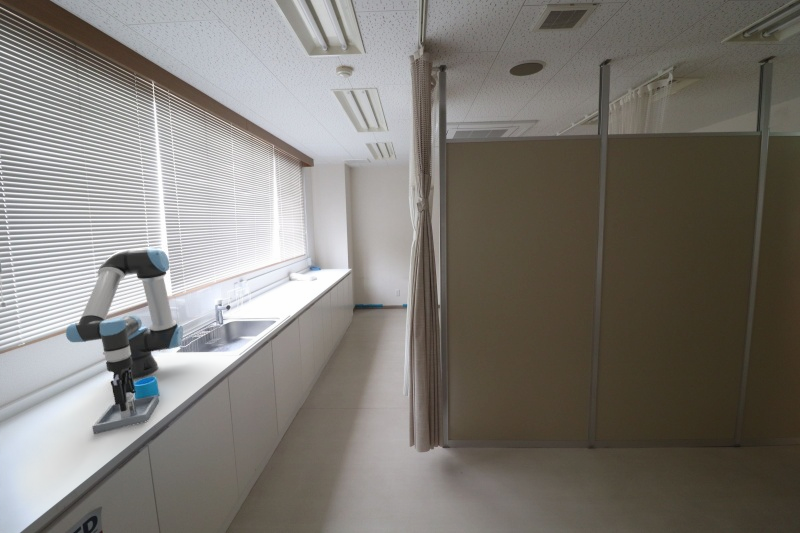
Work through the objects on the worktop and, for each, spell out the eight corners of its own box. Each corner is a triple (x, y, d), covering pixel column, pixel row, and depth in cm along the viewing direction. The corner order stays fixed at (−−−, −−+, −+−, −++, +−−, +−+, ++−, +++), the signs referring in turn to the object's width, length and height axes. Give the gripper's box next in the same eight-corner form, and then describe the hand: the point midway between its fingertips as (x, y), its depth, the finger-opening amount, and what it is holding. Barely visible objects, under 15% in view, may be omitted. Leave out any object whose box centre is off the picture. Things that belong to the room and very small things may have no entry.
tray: (112, 411, 132) (111, 404, 132) (159, 401, 138) (158, 394, 138) (93, 433, 118) (92, 426, 117) (147, 421, 124) (145, 414, 123)
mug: (153, 402, 138) (150, 384, 137) (131, 405, 136) (128, 387, 135) (167, 388, 150) (164, 371, 148) (147, 391, 148) (144, 374, 147)
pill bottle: (127, 411, 130) (123, 392, 129) (139, 410, 131) (136, 391, 129) (117, 418, 125) (114, 398, 124) (130, 417, 126) (127, 397, 125)
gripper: (116, 352, 131) (125, 405, 135) (95, 369, 115) (106, 429, 118) (138, 348, 134) (147, 400, 138) (121, 365, 118) (132, 423, 121)
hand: (128, 413), depth 128 cm, fingers closed on pill bottle, 5 cm apart
